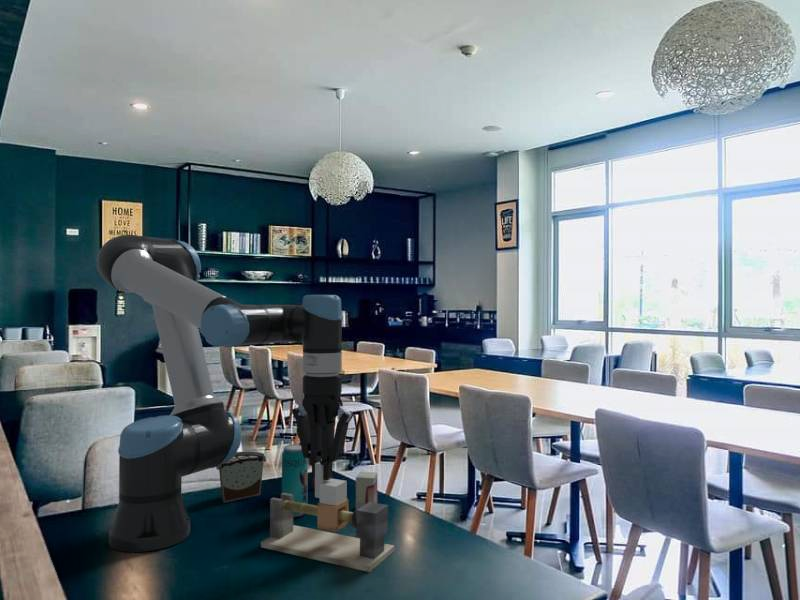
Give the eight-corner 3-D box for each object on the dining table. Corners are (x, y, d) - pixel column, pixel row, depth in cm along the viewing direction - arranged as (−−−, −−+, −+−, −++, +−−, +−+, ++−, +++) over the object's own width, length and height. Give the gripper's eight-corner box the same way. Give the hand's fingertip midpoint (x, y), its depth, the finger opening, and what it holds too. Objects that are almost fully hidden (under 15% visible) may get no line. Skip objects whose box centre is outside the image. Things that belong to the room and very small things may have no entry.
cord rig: (260, 547, 115) (261, 498, 115) (291, 529, 124) (291, 484, 124) (369, 572, 105) (370, 518, 105) (394, 550, 114) (394, 501, 114)
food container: (254, 487, 152) (254, 448, 152) (265, 493, 147) (266, 453, 147) (207, 497, 144) (208, 456, 144) (217, 504, 139) (218, 461, 139)
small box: (373, 513, 134) (374, 478, 134) (355, 512, 135) (355, 477, 135) (377, 505, 139) (377, 471, 139) (359, 504, 140) (359, 471, 140)
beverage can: (302, 519, 130) (302, 450, 130) (277, 516, 131) (277, 449, 131) (311, 510, 136) (311, 444, 136) (287, 508, 137) (287, 443, 137)
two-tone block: (317, 528, 113) (317, 484, 113) (330, 520, 117) (331, 477, 117) (335, 532, 111) (335, 487, 111) (348, 523, 115) (348, 480, 115)
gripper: (283, 374, 114) (282, 496, 114) (340, 378, 109) (340, 506, 109) (305, 370, 121) (305, 486, 121) (361, 373, 116) (360, 494, 115)
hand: (322, 495), depth 115 cm, fingers closed
